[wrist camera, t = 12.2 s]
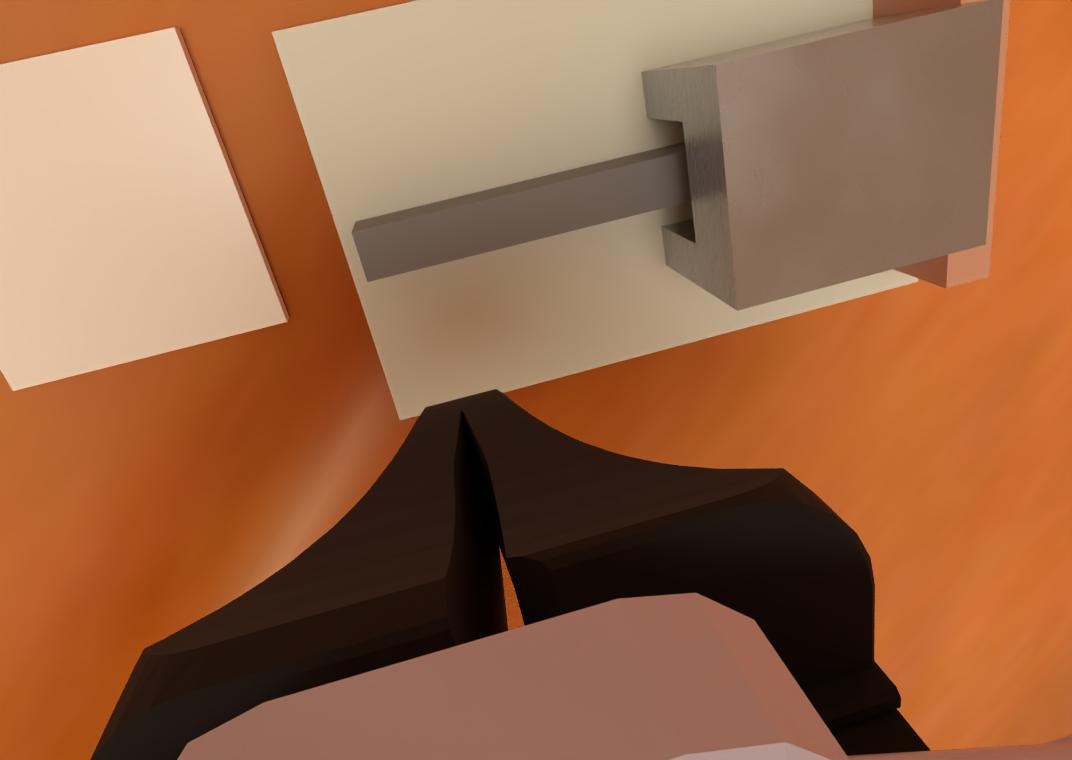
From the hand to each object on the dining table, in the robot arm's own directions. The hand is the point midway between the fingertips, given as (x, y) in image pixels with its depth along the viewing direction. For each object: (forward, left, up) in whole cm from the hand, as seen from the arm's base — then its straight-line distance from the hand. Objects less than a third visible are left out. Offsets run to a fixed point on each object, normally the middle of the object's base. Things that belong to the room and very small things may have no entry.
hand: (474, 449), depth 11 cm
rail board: (+2, -5, -8) cm, 10 cm away
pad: (+4, +8, -8) cm, 12 cm away
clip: (+2, -9, -8) cm, 12 cm away
